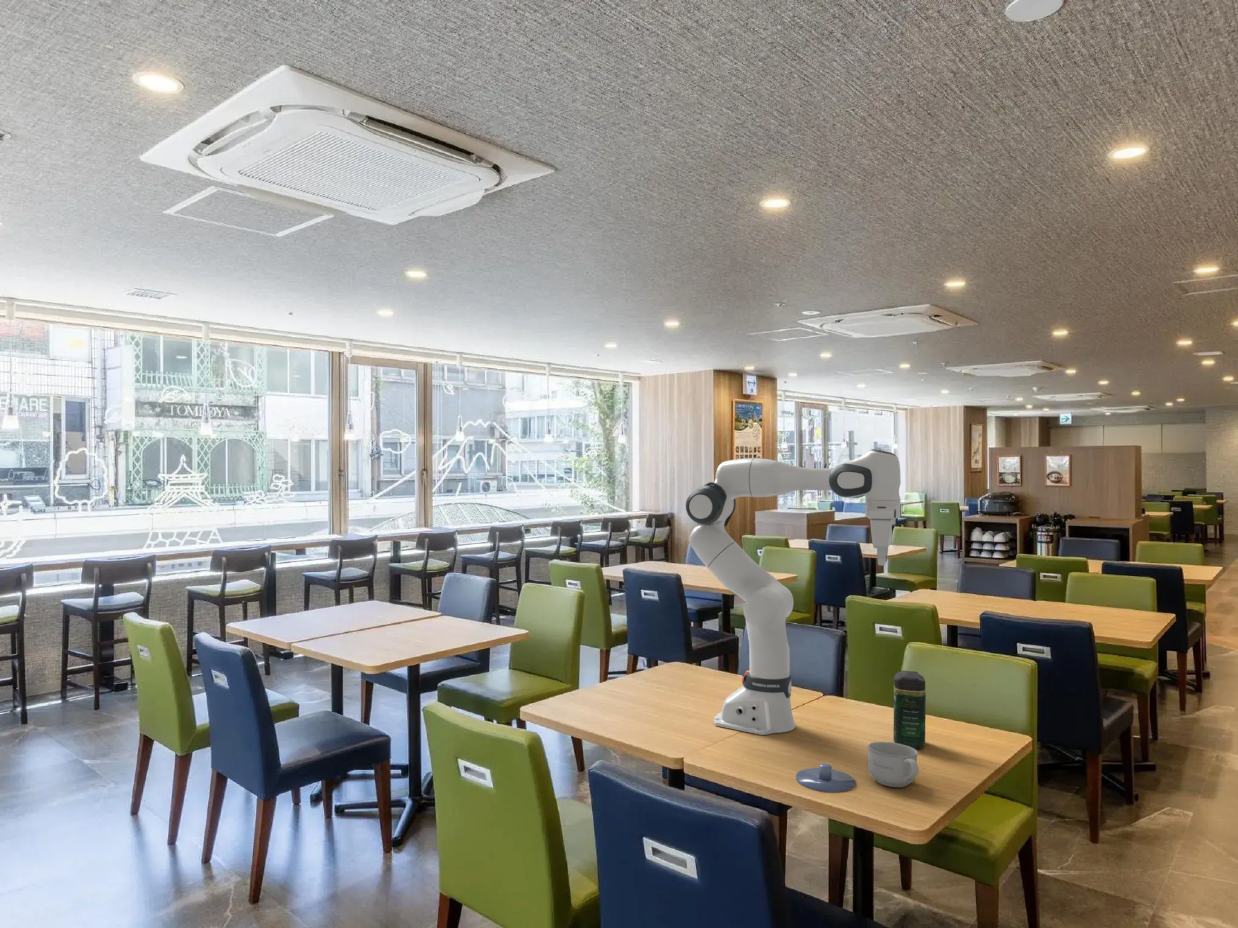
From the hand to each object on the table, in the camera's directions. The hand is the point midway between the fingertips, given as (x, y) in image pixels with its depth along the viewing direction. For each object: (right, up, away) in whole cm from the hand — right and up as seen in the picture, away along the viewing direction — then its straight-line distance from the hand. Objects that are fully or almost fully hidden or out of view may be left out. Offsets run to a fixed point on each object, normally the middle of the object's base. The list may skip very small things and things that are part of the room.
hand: (882, 563), depth 210 cm
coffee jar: (+6, -47, -2) cm, 48 cm away
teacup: (-7, -47, -30) cm, 56 cm away
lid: (-22, -47, -28) cm, 59 cm away
